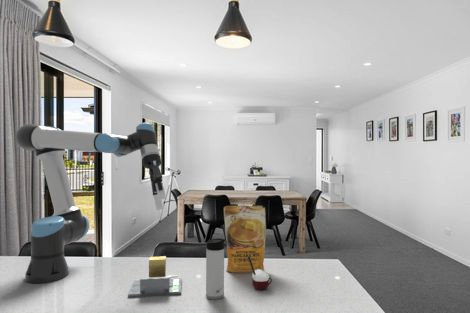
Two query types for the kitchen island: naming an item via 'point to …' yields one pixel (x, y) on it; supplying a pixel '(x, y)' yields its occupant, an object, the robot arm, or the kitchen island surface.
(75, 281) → the kitchen island surface
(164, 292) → the gauge bed
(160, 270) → the brushed brass block
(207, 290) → the travel mug
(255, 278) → the cocoa
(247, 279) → the kitchen island surface
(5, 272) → the kitchen island surface
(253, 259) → the pancake mix bag
